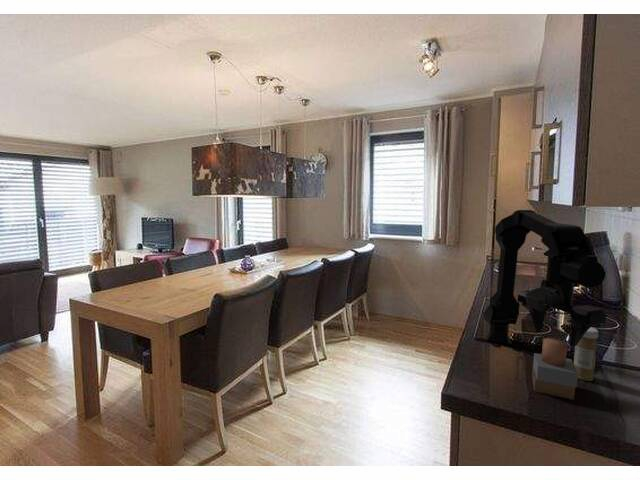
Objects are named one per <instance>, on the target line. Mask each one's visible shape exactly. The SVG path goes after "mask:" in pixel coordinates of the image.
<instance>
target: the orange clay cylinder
mask: <svg viewBox="0 0 640 480" xmlns="http://www.w3.org/2000/svg"><path fill="white" fill-rule="evenodd" d="M541 350H542V351H541V354H542V357H541V360H542V361H543V362H545V363H547V364H549V365H553V366H565V363H566V358H567V352H568V344H567V342H565V341H563V340H560V339H558V338H552V337H545V338H544V339H542V349H541Z"/></svg>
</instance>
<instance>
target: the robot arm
mask: <svg viewBox="0 0 640 480" xmlns="http://www.w3.org/2000/svg"><path fill="white" fill-rule="evenodd" d="M494 228H495V229H494V233H495V241H496V242H497V244H498V246H499V247H500V251H499V252H500V254H499V263H498V273H497V274H498V275H497V281H496V282H497V284H496V285H497V286H496V291H495V293H494V294H493V295H492V296H491V298H489V304H488V306H487V307H486V309H485V310H484V311H483V314H482V315H483V320H484V321H485V322H487V323H488V324H489V326H488V327H489V331H488V333H487V338H486V339H487V342H491V343H492V341H496V342H495V343H497V342H501V343H500V344H504V345H510V344H511V343H510V336H509V332H510V330H509V329H510V325H516V324H517V321H518V318H519V315H520V310H519V309H520V306H522V307H523V308H525V309H527V310H528V312H529V314H530V317H531V320H532V322H533V327H534V330H535V332H536V333H541V331H542V329H543V325H544V321H545V317H546V312H547V311H549V309H556V310H560V311H563V312H566V313H569V314H570V315H569V316H570V318H571V319H569V320H568V322H569V323H570V324H571V332H570V347H572V348H575V346H576V345H577V344H578V342H579V341H580V340H581V338H582V337H583V336H584V334H585V333H586V332H587V330H588V329H589V328H590V327H592V326H594V325H598V324H600V323H601V324H602V323H605V322H606V321H607V319H606V318H607V314H606V311H605V310H604V309H602V308H599V307H596V306H592V305H588V304H585V305H577V306H576V304H577V302H578V301H577V298H574V290H575V288H578V287H579V286H582V287H586V288H588V289H589V288H590V289H591V288H596V287H599V286H600V285H601V284H602V283H603V282H604V280H605V278H606V276H607V275H606V271H605V268H604V266H603V265H602V264H601V263H599V262H598V256H596V255H593V252H592V250H593V249H592V247H591V246H590V244H589V242H588V239H587V237H586V235H585V233H584V229H583V228H582V227H581V226H578V225H575V224H568V223H558V222H555V221H554V220H552V219H549V218H548V217H546V216H543V215H542V214H541V215H540V214H539V213H537V212H536V211H535V210H532V209H518V210H515V211H514V212H513V213H512V214H510V215H508V216H506V217H504V218H502V219H500V221H499V222H498V223H497V224H496V225H495V227H494ZM530 232H532V233H534V234H536V235H537V236H539V237H540V238H541V240H540V241H541V243H542V244H543V245H544V246H545V247H546V248H547V250H546V251H544V253H543V256H545V257H547V261H546V262H547V266H546V275H545V279H542V280H541V282H540V286H539V287H537V288H535V289H528V290H520V291H519V293H518V294H517V298H516V297H515V286H516V285H515V283H516V275H517V266H518V265H517V264H518V255H519V250H520V249H521V248H522V247H523V246H524V245H525V242H526V239H527V235H528V234H529V233H530ZM492 339H493V340H492Z"/></svg>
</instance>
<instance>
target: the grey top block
mask: <svg viewBox="0 0 640 480" xmlns="http://www.w3.org/2000/svg"><path fill="white" fill-rule="evenodd" d="M541 357H542V353H536V352H534V353H533V362H532V368H533V367H534V371H535V375H536V378H537V380H540V381H546V382H551V383H556V384H561V385H566V386H571V387H575V388H578V380H579V379H578V372H577V370H576V368H575V366H574V361H573V360H572V359H571V358H567V357H566V363H565V366H553V365H549V364H547V363H545V362H543V361H542V360H541Z"/></svg>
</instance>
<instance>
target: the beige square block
mask: <svg viewBox="0 0 640 480" xmlns="http://www.w3.org/2000/svg"><path fill="white" fill-rule="evenodd" d="M531 374H532V375H531V377H532V379H531V380H532V385H533V391H534V392H536V393H542V394H547V395H549V396H550V395H551V396H554V397H560V398H564V399H568V400H575V393H576V392H575V391H576V387H571V386H566V385H561V384H556V383H551V382H546V381H540V380H537V378H536V375H535V371H534V367H533V366H532V373H531Z"/></svg>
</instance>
